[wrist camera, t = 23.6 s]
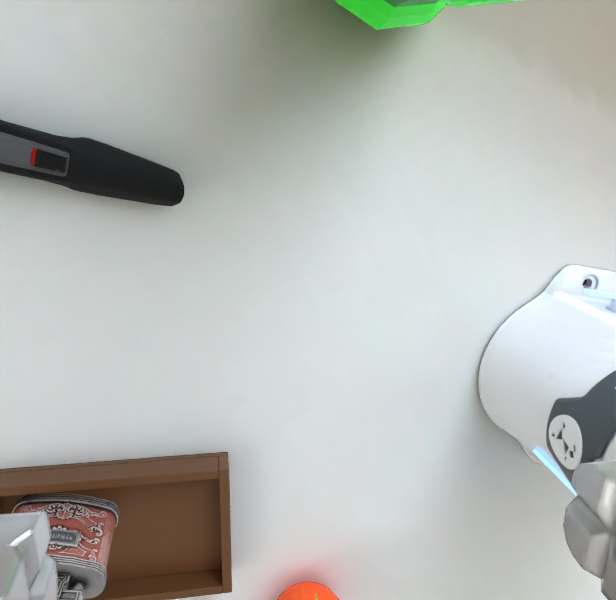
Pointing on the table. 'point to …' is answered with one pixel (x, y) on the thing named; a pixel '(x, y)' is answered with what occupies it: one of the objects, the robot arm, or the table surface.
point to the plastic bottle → (403, 10)
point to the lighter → (76, 539)
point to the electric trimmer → (87, 166)
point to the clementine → (308, 592)
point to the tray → (149, 520)
